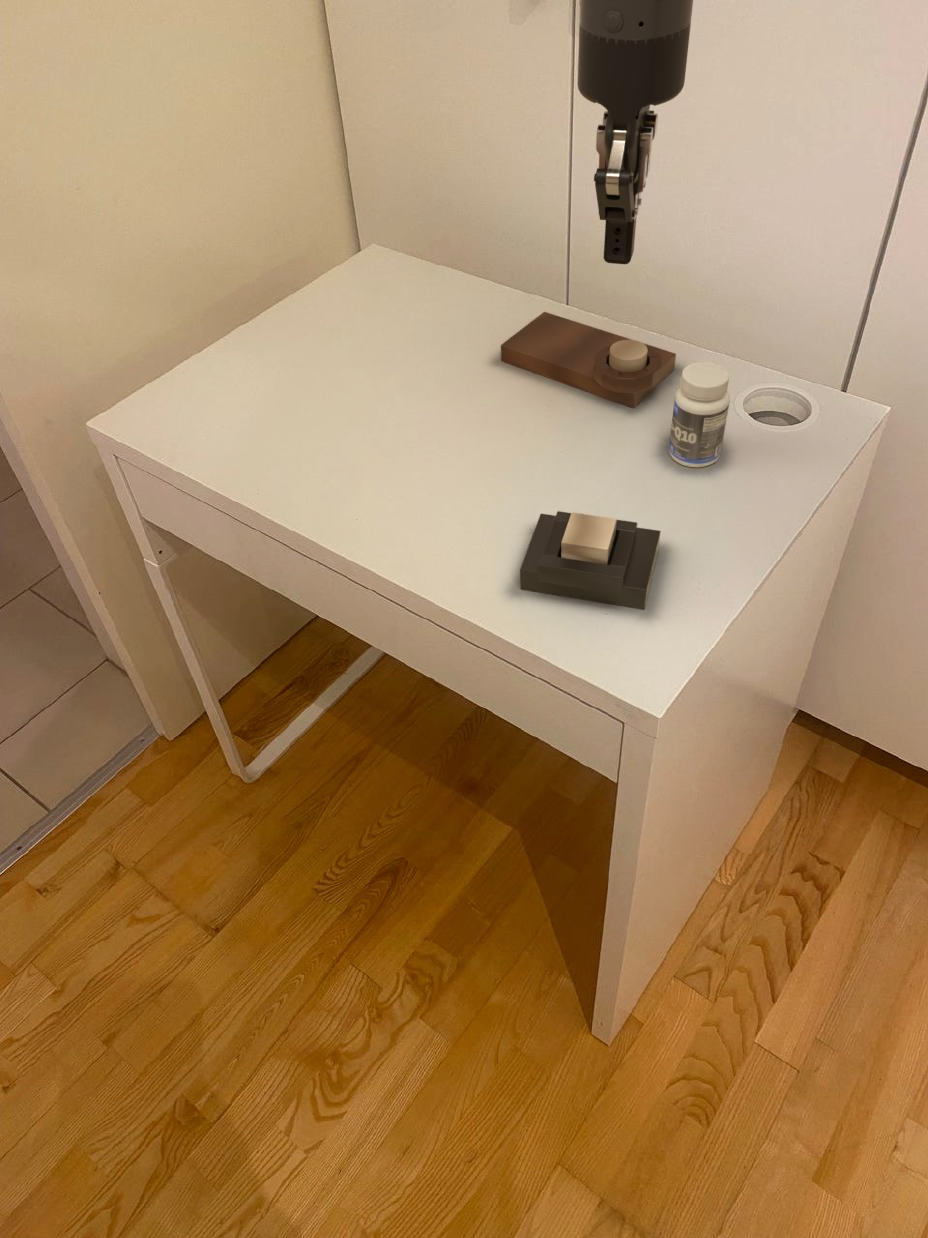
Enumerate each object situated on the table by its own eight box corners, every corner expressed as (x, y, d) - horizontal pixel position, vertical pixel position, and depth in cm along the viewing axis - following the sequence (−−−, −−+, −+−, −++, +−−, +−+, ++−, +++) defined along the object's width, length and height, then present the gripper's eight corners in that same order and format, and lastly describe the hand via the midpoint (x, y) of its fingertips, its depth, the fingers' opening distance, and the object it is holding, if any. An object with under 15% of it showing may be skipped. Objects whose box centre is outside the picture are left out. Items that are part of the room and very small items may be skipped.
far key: (653, 360, 93) (654, 346, 92) (634, 377, 91) (635, 363, 90) (621, 349, 95) (622, 335, 94) (601, 366, 93) (602, 352, 92)
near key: (615, 535, 75) (616, 518, 74) (607, 566, 73) (608, 549, 72) (570, 528, 76) (571, 511, 75) (561, 558, 74) (561, 542, 73)
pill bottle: (657, 448, 88) (666, 369, 82) (699, 431, 90) (710, 352, 84) (689, 475, 86) (700, 395, 79) (731, 457, 87) (745, 377, 81)
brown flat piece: (683, 372, 97) (687, 342, 94) (637, 417, 92) (639, 385, 89) (544, 327, 104) (544, 297, 102) (495, 365, 100) (493, 335, 97)
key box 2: (658, 550, 79) (662, 513, 76) (642, 618, 74) (646, 581, 71) (540, 532, 82) (540, 496, 79) (517, 597, 76) (516, 561, 74)
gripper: (678, 50, 60) (653, 305, 72) (702, -13, 68) (675, 225, 81) (560, 46, 61) (555, 296, 74) (597, -15, 70) (587, 219, 83)
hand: (618, 258), depth 77 cm, fingers closed
